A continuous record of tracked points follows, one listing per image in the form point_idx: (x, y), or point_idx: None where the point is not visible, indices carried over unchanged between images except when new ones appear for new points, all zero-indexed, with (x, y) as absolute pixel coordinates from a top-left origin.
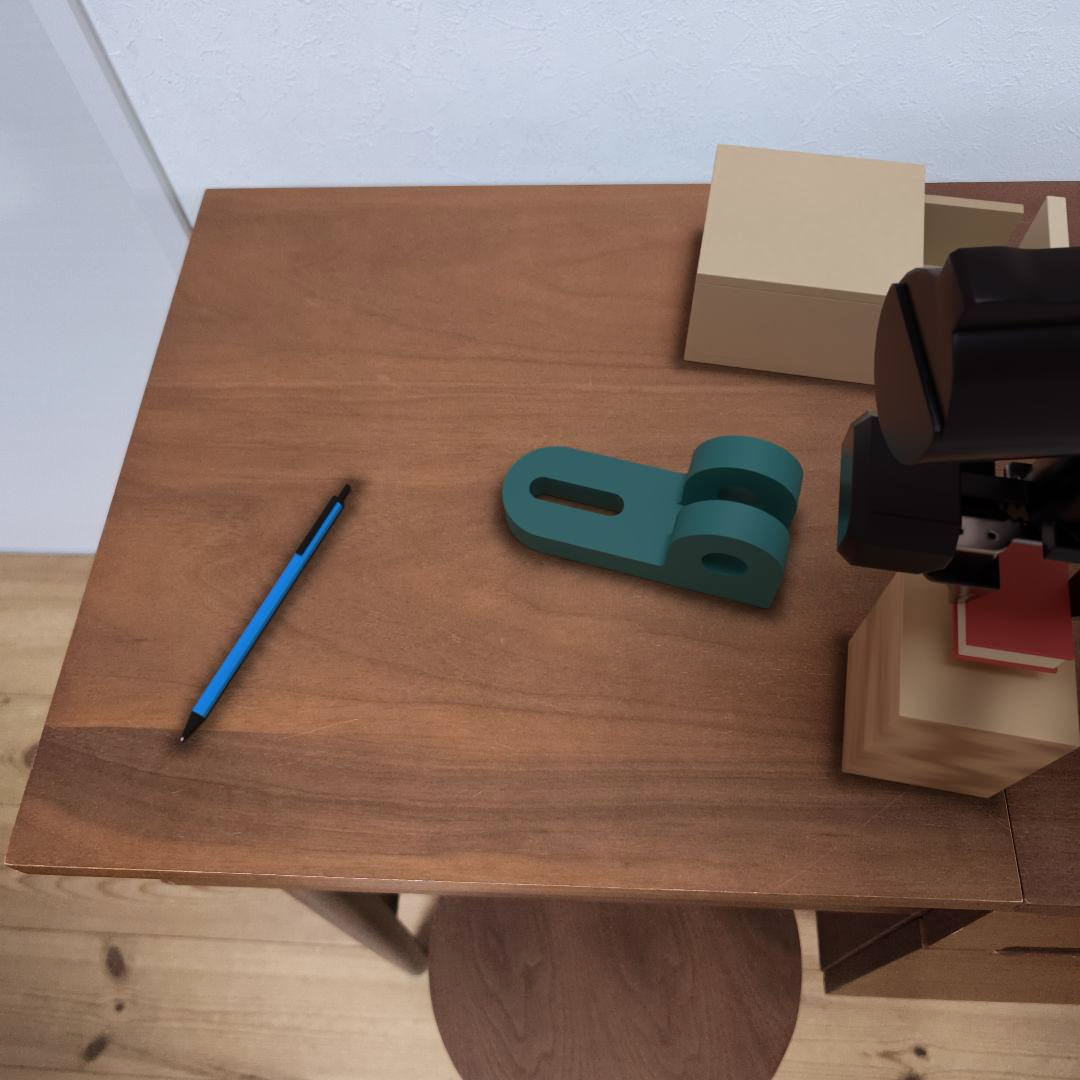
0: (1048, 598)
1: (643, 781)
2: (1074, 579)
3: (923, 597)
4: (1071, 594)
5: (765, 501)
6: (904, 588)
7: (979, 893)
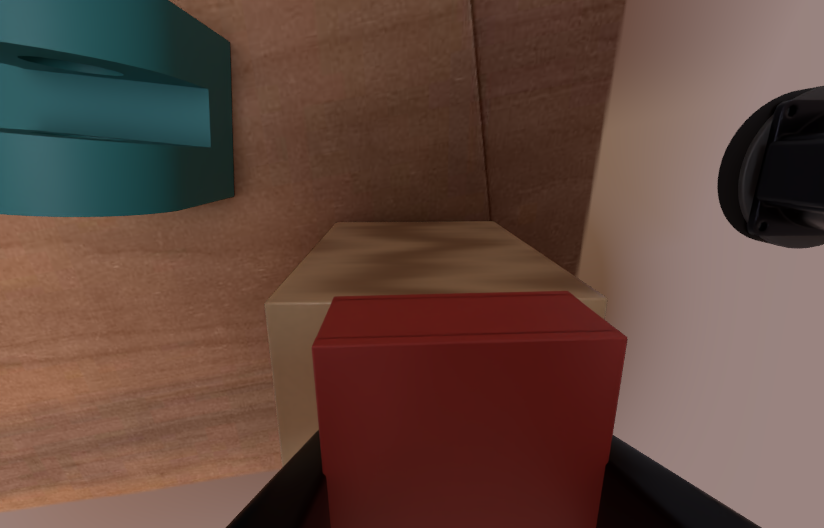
0: (543, 521)
1: (152, 407)
2: (624, 497)
3: (312, 372)
4: (606, 512)
5: (110, 69)
6: (273, 359)
7: None
